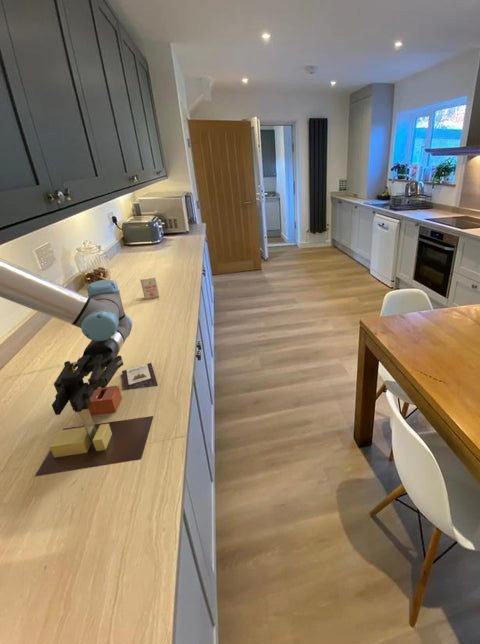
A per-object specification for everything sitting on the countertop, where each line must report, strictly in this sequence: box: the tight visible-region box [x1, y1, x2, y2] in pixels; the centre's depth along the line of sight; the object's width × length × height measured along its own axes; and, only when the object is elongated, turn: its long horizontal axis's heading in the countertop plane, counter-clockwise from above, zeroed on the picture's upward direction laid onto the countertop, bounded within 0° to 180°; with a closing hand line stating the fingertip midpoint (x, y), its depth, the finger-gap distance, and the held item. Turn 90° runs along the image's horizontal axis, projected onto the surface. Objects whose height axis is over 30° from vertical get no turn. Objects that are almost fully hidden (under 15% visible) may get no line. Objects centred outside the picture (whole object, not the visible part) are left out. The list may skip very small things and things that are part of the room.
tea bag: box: [140, 277, 160, 301], centre depth 163 cm, size 4×7×10 cm, turn 116°
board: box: [34, 415, 154, 478], centre depth 79 cm, size 22×14×2 cm, turn 102°
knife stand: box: [88, 385, 123, 417], centre depth 90 cm, size 7×6×6 cm
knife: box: [61, 372, 97, 444], centre depth 74 cm, size 3×3×19 cm
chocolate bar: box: [121, 362, 159, 391], centre depth 101 cm, size 9×1×18 cm
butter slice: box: [93, 424, 112, 451], centre depth 78 cm, size 2×5×4 cm, turn 12°
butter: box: [49, 427, 91, 458], centre depth 77 cm, size 7×5×4 cm
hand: (65, 408), depth 67 cm, fingers closed on knife, 3 cm apart
